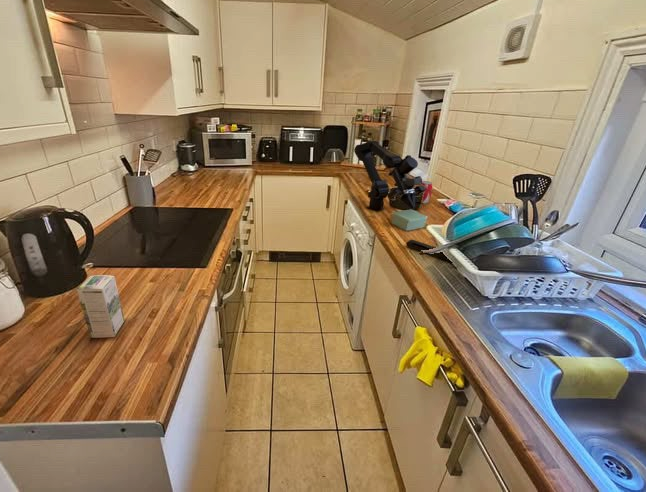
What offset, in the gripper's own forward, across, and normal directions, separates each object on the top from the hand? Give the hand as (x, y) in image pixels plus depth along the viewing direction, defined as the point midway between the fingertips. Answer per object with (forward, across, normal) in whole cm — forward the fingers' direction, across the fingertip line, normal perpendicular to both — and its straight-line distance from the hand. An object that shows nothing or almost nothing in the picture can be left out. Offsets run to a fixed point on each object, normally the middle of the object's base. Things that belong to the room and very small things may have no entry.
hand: (413, 208), depth 138 cm
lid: (+2, 0, +4) cm, 4 cm away
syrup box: (+21, -121, -8) cm, 124 cm away
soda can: (-10, +33, +24) cm, 42 cm away
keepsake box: (+5, 0, +8) cm, 9 cm away
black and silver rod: (+23, -13, -10) cm, 28 cm away
